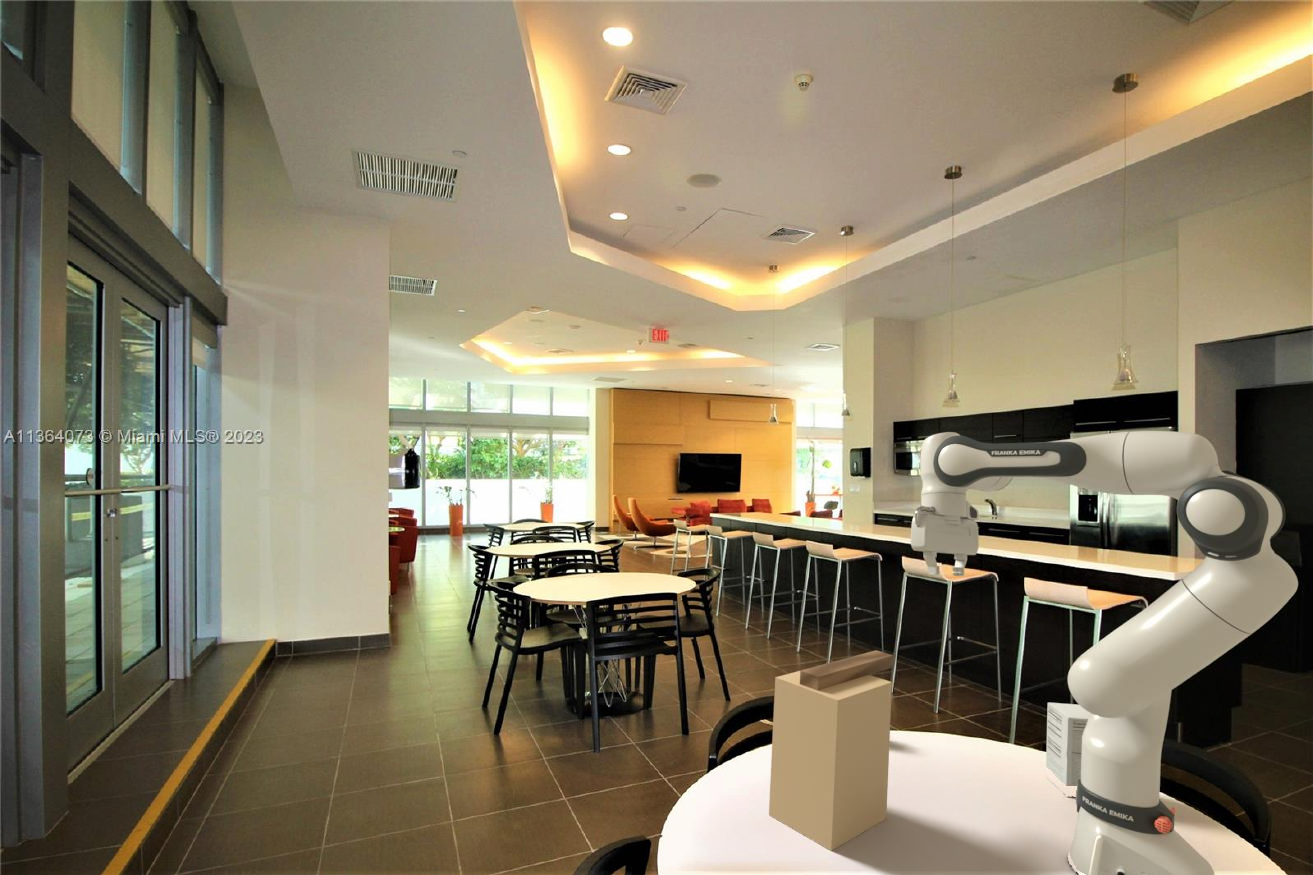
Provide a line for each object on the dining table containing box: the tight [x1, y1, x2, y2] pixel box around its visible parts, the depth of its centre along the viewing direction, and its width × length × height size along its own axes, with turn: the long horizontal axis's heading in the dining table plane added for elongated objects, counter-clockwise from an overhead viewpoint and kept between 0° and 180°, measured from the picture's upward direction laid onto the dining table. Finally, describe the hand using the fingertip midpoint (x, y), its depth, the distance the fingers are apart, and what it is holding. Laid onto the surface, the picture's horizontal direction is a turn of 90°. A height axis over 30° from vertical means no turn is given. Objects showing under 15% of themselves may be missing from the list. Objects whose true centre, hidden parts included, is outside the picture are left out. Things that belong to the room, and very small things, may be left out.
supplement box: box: [1045, 702, 1090, 786], centre depth 143 cm, size 10×9×17 cm
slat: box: [799, 650, 894, 691], centre depth 130 cm, size 4×26×2 cm, turn 130°
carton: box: [768, 664, 893, 852], centre depth 126 cm, size 14×18×26 cm
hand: (946, 575), depth 137 cm, fingers open, 8 cm apart
